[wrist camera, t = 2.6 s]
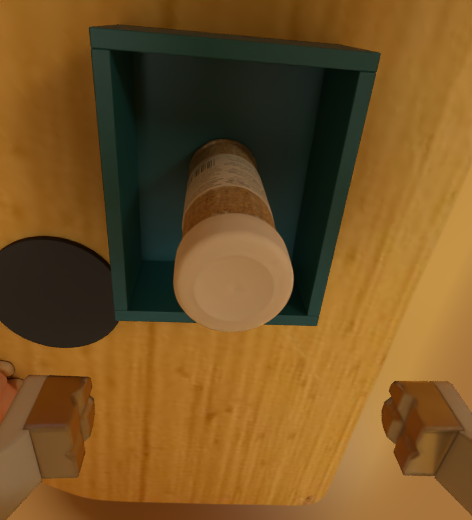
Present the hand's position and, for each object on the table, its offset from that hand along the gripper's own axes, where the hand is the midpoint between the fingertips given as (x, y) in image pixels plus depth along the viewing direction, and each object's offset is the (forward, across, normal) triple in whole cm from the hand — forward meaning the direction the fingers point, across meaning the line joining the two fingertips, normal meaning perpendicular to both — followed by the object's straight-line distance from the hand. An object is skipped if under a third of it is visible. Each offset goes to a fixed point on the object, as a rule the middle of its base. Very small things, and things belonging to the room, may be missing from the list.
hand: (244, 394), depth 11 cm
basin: (+18, 0, 0) cm, 18 cm away
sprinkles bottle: (+18, 0, 0) cm, 18 cm away
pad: (+18, +12, +10) cm, 24 cm away
